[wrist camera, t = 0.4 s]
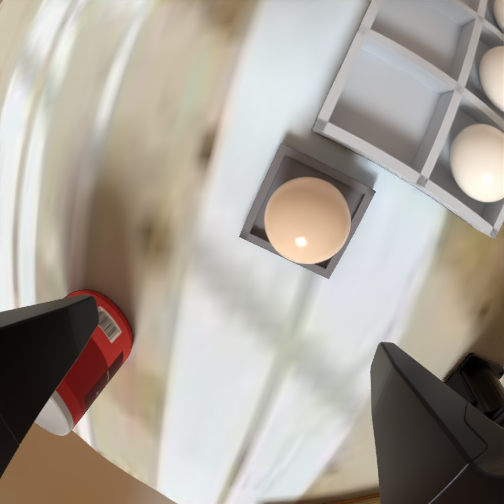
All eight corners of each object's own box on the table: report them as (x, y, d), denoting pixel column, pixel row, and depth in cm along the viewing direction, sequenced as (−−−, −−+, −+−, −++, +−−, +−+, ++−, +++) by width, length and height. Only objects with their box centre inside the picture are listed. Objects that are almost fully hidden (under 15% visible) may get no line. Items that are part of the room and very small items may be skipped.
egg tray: (535, 30, 10) (551, 23, 8) (476, 229, 18) (494, 239, 15) (401, -65, 11) (408, -81, 8) (311, 130, 18) (313, 126, 15)
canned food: (65, 276, 24) (-20, 332, 14) (136, 303, 24) (56, 386, 13) (71, 340, 27) (7, 403, 17) (136, 369, 26) (78, 451, 16)
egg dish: (372, 189, 18) (375, 191, 17) (327, 273, 20) (328, 279, 20) (281, 144, 18) (281, 143, 17) (241, 233, 20) (239, 236, 20)
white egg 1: (499, 150, 15) (541, 154, 10) (476, 208, 17) (514, 225, 12) (452, 111, 15) (490, 103, 11) (426, 172, 17) (461, 180, 12)
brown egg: (357, 195, 18) (375, 209, 14) (323, 261, 20) (328, 292, 15) (288, 161, 18) (283, 163, 14) (256, 229, 20) (243, 252, 15)
